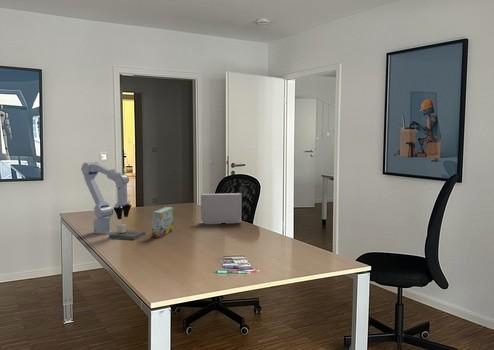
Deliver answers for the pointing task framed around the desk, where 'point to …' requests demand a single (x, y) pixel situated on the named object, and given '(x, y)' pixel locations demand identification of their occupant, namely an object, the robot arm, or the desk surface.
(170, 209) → the snack box
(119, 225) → the fader cap
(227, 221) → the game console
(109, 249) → the desk surface
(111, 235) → the console panel
